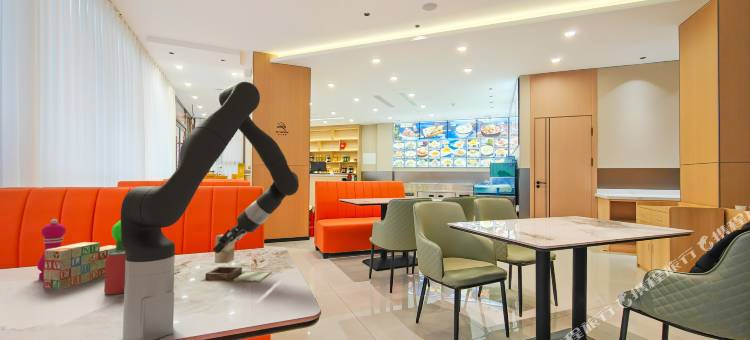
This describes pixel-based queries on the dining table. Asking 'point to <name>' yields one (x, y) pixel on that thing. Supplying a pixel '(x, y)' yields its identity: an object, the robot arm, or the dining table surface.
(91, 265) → the stack of blocks
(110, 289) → the beer can
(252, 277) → the puzzle board
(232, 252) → the maple block
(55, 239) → the pepper mill
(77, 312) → the dining table surface
